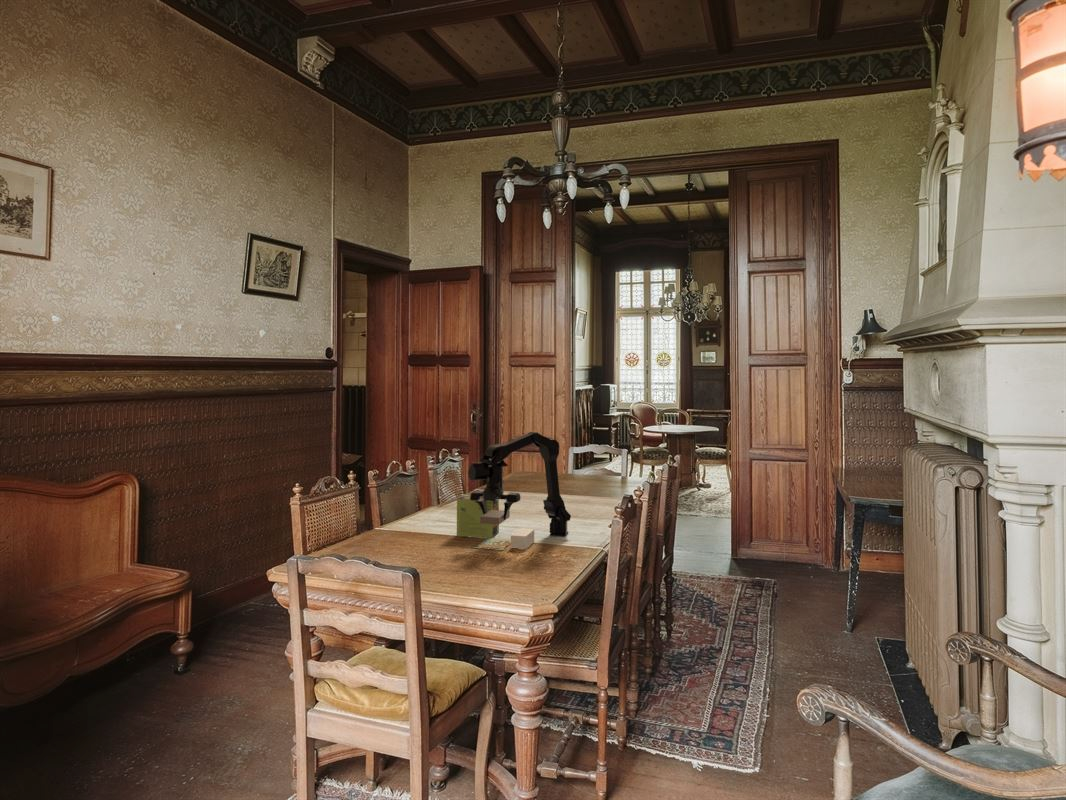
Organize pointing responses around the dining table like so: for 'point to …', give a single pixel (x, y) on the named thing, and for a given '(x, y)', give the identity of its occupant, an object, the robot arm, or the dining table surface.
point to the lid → (493, 517)
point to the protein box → (474, 518)
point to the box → (522, 538)
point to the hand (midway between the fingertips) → (495, 518)
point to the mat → (494, 543)
